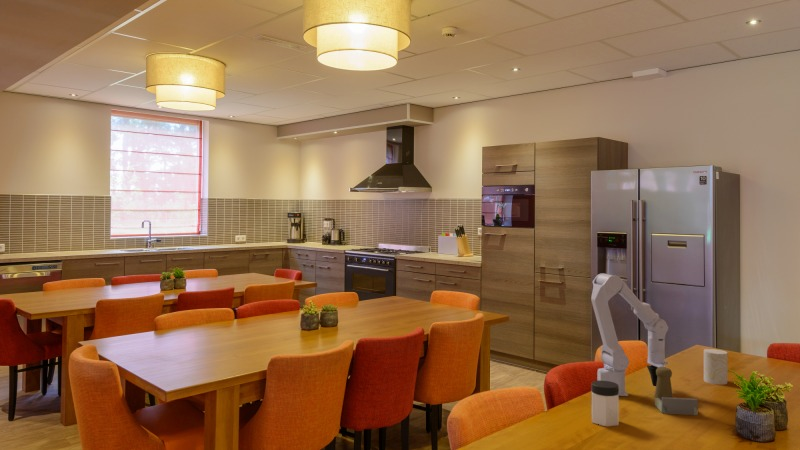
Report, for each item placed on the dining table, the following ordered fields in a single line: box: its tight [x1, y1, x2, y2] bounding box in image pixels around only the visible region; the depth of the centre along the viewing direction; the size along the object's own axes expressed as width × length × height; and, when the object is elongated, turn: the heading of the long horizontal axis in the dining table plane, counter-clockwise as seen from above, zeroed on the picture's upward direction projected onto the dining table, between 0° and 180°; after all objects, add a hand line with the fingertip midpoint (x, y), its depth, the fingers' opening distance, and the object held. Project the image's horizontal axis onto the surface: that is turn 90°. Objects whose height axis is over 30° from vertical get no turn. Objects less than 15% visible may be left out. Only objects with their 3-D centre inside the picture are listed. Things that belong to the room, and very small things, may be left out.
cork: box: [654, 366, 674, 401], centre depth 196 cm, size 6×6×11 cm
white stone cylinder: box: [703, 348, 728, 386], centre depth 217 cm, size 8×8×12 cm
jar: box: [590, 380, 620, 427], centre depth 173 cm, size 9×8×12 cm
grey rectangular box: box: [654, 397, 699, 416], centre depth 184 cm, size 11×8×5 cm
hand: (656, 385), depth 205 cm, fingers closed
